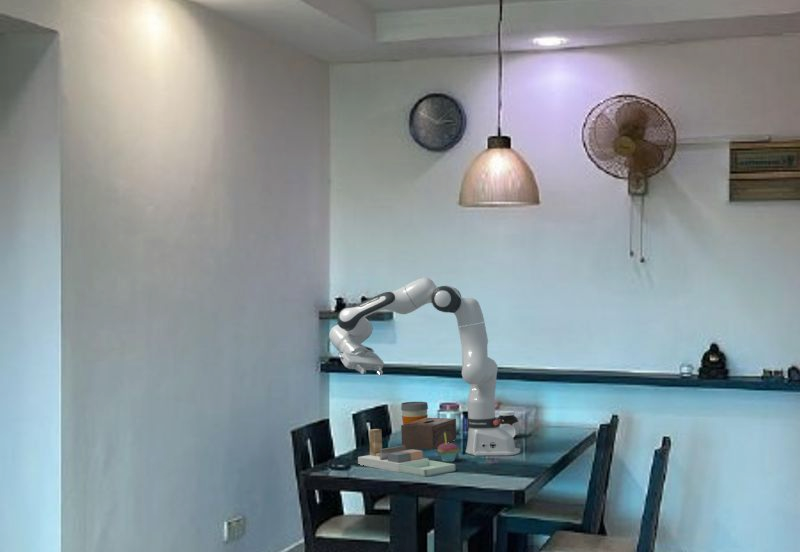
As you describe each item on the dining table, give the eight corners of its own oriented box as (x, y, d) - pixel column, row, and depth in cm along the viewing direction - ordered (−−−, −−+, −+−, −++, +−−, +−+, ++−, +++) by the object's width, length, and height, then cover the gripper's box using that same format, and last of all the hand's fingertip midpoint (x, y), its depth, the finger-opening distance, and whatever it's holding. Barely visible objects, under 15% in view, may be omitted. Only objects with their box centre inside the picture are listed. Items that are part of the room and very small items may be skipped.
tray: (399, 472, 393) (398, 465, 393) (429, 466, 402) (428, 460, 402) (425, 476, 381) (425, 469, 381) (455, 471, 391) (455, 464, 391)
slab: (358, 464, 412) (358, 457, 412) (387, 459, 421) (387, 452, 422) (399, 472, 393) (398, 463, 393) (429, 466, 402) (428, 458, 402)
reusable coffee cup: (410, 433, 495) (409, 401, 495) (433, 434, 489) (432, 401, 489) (396, 436, 484) (395, 404, 484) (420, 437, 478) (419, 405, 478)
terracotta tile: (400, 458, 404) (400, 451, 404) (412, 456, 408) (412, 449, 408) (411, 460, 399) (410, 452, 399) (422, 458, 403) (422, 450, 403)
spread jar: (511, 435, 476) (510, 410, 476) (526, 438, 467) (525, 412, 467) (489, 438, 470) (489, 412, 470) (505, 441, 460) (504, 414, 460)
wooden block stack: (361, 456, 413) (360, 431, 413) (385, 452, 420) (384, 427, 420) (381, 460, 403) (380, 434, 403) (405, 455, 411) (404, 430, 411)
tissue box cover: (432, 449, 444) (431, 426, 444) (401, 448, 451) (401, 425, 451) (456, 441, 467) (455, 418, 467) (427, 439, 474) (426, 417, 474)
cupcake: (452, 463, 408) (451, 432, 408) (433, 461, 413) (432, 431, 413) (462, 459, 415) (461, 429, 416) (444, 458, 420) (443, 428, 420)
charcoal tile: (387, 461, 400) (387, 453, 400) (399, 459, 404) (399, 451, 404) (397, 462, 395) (397, 454, 395) (410, 460, 399) (409, 452, 399)
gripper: (339, 345, 429) (357, 365, 421) (375, 348, 444) (393, 368, 435) (333, 358, 431) (350, 378, 423) (368, 360, 446) (386, 380, 437)
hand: (372, 373), depth 429 cm, fingers open, 8 cm apart
